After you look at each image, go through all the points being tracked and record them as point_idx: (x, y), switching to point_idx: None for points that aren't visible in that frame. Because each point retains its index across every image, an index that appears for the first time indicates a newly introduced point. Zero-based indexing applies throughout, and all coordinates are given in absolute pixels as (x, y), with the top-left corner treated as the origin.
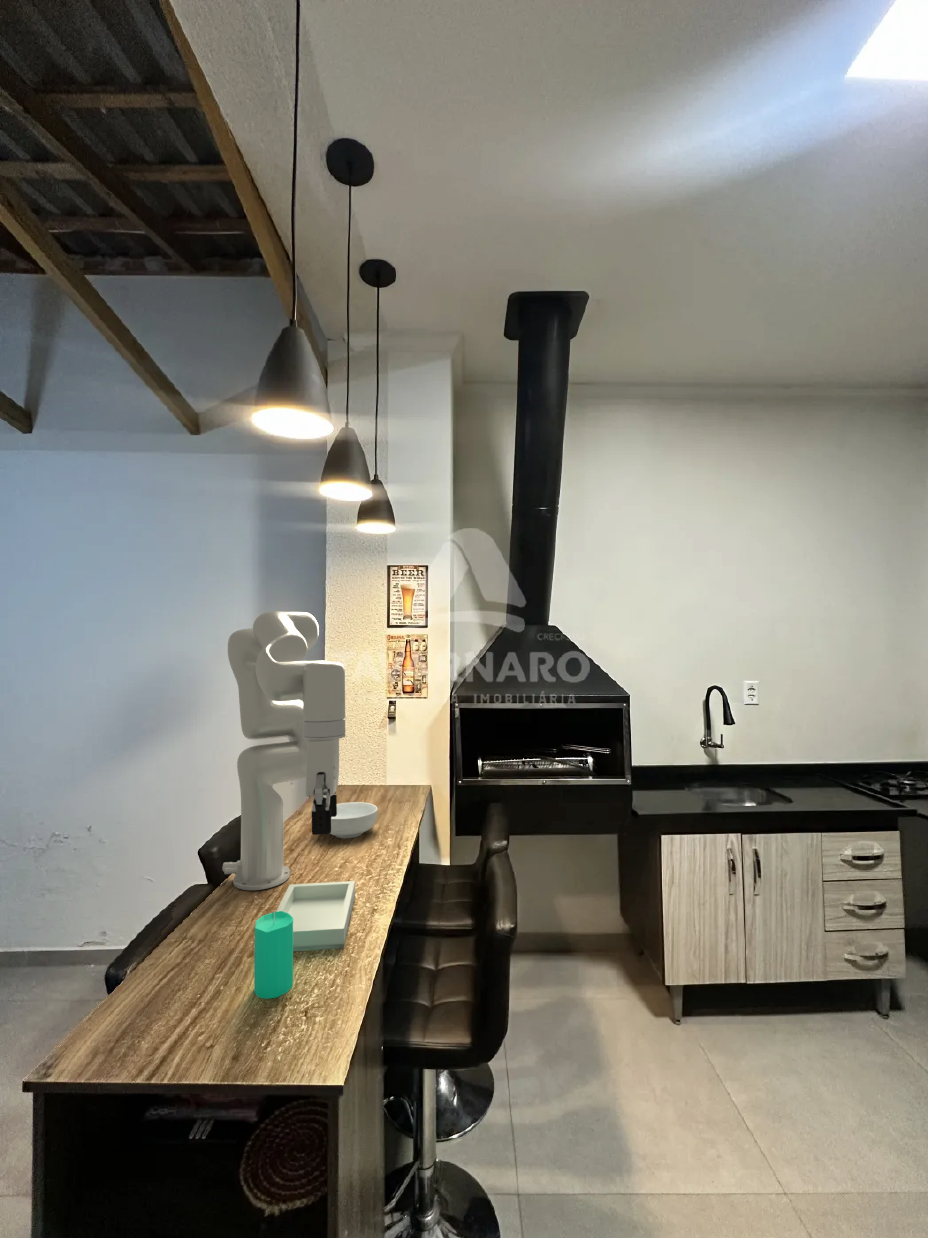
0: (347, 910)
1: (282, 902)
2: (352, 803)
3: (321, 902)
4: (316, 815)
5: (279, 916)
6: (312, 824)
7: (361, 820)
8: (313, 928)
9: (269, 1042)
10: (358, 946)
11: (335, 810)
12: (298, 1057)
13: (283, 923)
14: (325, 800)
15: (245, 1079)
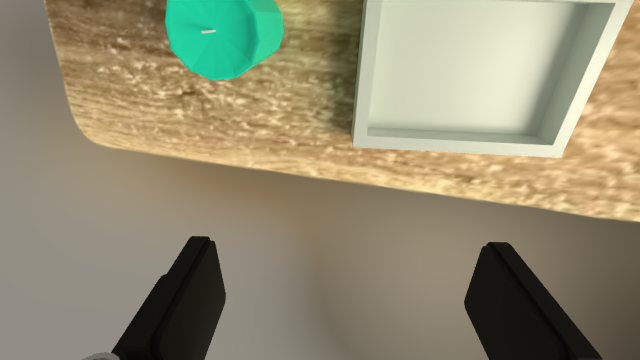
0: (422, 149)
1: None
2: None
3: (535, 78)
4: (118, 345)
5: (251, 37)
6: (171, 273)
7: None
8: (366, 88)
9: (125, 48)
10: (351, 156)
11: (475, 330)
12: (106, 95)
13: (215, 56)
14: (528, 354)
15: (55, 29)
